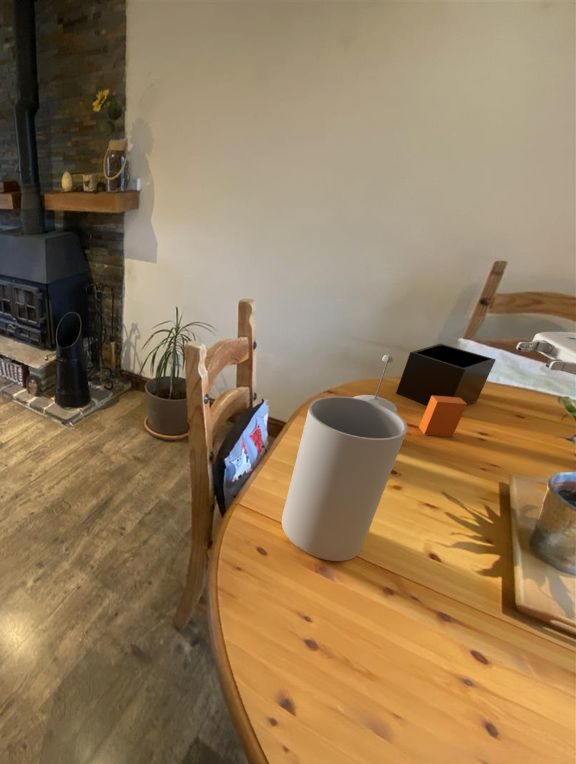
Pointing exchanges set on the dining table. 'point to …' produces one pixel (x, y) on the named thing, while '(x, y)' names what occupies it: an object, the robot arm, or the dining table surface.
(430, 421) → the block
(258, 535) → the dining table surface
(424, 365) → the bin
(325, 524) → the cylinder vase
